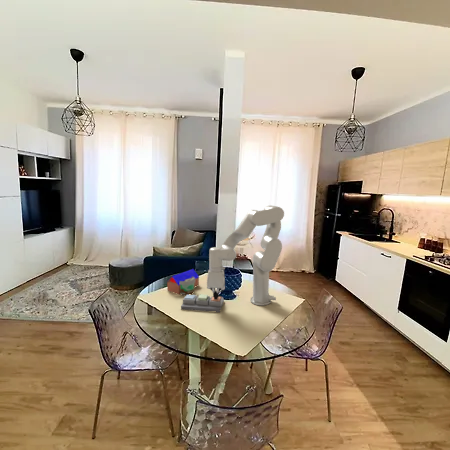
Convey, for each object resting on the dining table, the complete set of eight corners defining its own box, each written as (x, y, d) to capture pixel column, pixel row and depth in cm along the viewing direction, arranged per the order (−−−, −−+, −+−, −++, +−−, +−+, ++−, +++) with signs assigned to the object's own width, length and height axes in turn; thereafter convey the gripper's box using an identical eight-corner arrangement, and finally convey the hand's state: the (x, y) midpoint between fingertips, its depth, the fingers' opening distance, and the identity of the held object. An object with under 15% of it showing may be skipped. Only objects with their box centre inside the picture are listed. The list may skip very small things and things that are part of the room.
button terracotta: (221, 300, 153) (221, 296, 153) (219, 304, 148) (219, 300, 148) (212, 300, 154) (212, 296, 154) (211, 303, 149) (211, 299, 149)
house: (166, 290, 175) (166, 274, 173) (187, 282, 191) (187, 267, 189) (178, 295, 168) (178, 278, 166) (199, 285, 184) (199, 270, 182)
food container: (186, 298, 163) (185, 283, 161) (179, 295, 167) (179, 281, 165) (199, 291, 173) (199, 277, 171) (192, 289, 176) (192, 275, 175)
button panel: (223, 301, 158) (223, 294, 157) (219, 312, 144) (219, 304, 144) (188, 299, 161) (188, 292, 161) (181, 309, 148) (180, 302, 147)
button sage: (208, 298, 154) (208, 294, 154) (206, 302, 149) (206, 298, 149) (200, 298, 155) (200, 294, 155) (198, 301, 150) (197, 297, 150)
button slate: (195, 298, 156) (195, 295, 155) (193, 302, 151) (193, 298, 151) (187, 298, 157) (187, 294, 156) (185, 301, 152) (184, 298, 151)
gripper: (229, 267, 151) (229, 296, 153) (204, 266, 153) (205, 294, 156) (227, 271, 143) (227, 302, 146) (201, 270, 146) (202, 300, 148)
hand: (215, 298), depth 151 cm, fingers closed
